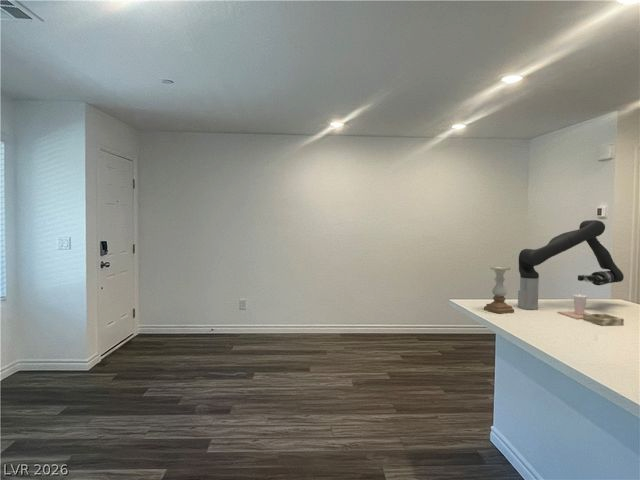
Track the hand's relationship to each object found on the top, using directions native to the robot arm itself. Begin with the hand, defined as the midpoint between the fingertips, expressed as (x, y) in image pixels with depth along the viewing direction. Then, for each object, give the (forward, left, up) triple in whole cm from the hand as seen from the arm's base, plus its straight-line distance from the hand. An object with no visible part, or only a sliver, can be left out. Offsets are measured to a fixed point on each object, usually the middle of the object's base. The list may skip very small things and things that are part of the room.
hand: (588, 279), depth 217 cm
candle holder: (-46, +7, -18) cm, 50 cm away
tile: (-10, -7, -18) cm, 21 cm away
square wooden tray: (-9, -21, -18) cm, 28 cm away
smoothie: (-10, -6, -17) cm, 21 cm away
